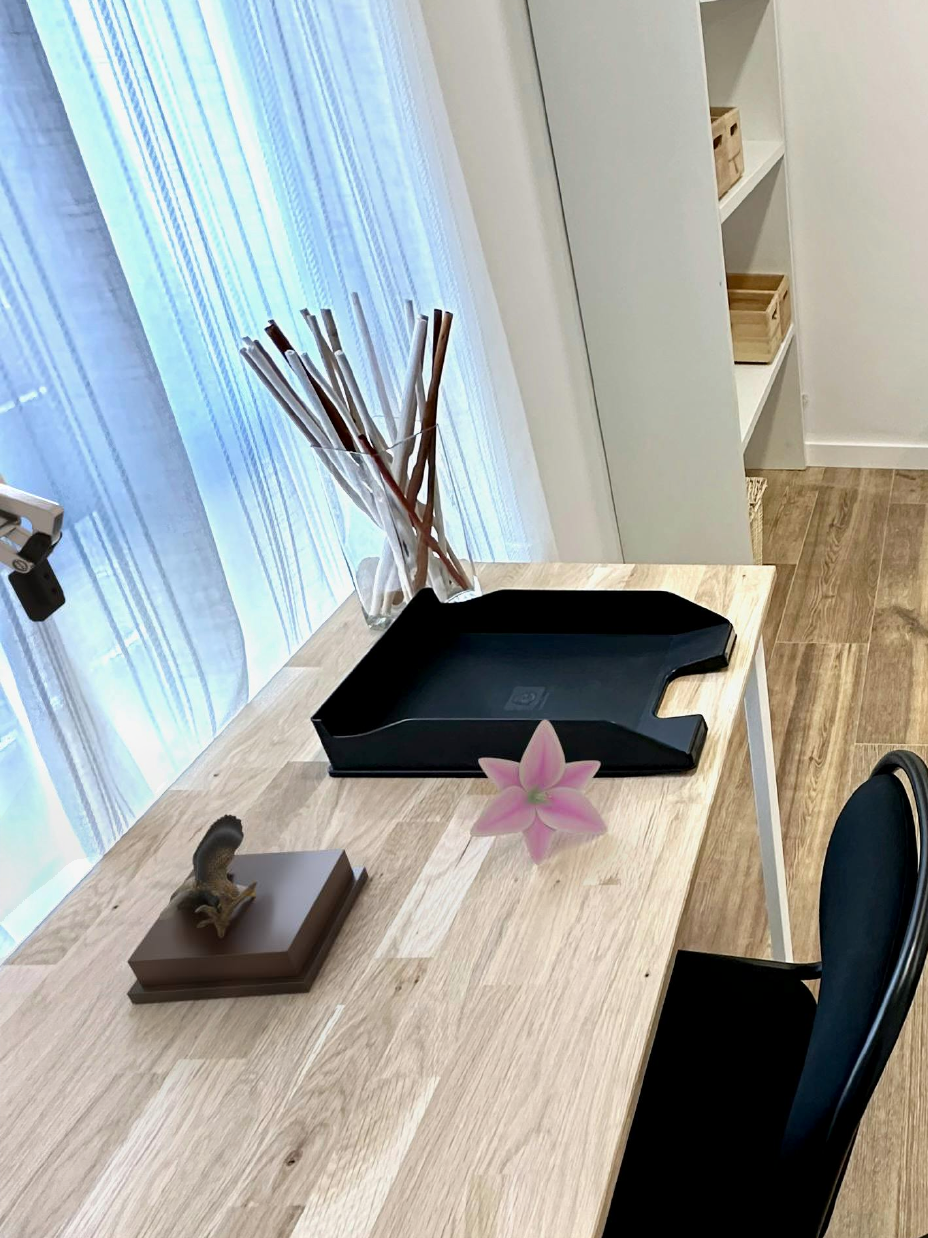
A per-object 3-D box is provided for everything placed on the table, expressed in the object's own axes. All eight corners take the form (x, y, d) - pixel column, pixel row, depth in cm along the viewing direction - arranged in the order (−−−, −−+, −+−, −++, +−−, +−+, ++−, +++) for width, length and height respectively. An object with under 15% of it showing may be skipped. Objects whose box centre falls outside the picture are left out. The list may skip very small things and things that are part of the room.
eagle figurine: (299, 896, 88) (269, 823, 92) (221, 872, 82) (193, 794, 86) (224, 963, 87) (197, 886, 92) (139, 944, 81) (115, 862, 86)
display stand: (132, 1004, 85) (111, 969, 82) (213, 884, 96) (197, 851, 93) (308, 992, 86) (292, 957, 84) (368, 876, 97) (356, 842, 95)
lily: (461, 885, 98) (476, 834, 91) (459, 772, 104) (473, 717, 97) (599, 877, 104) (622, 830, 98) (589, 771, 110) (610, 720, 104)
